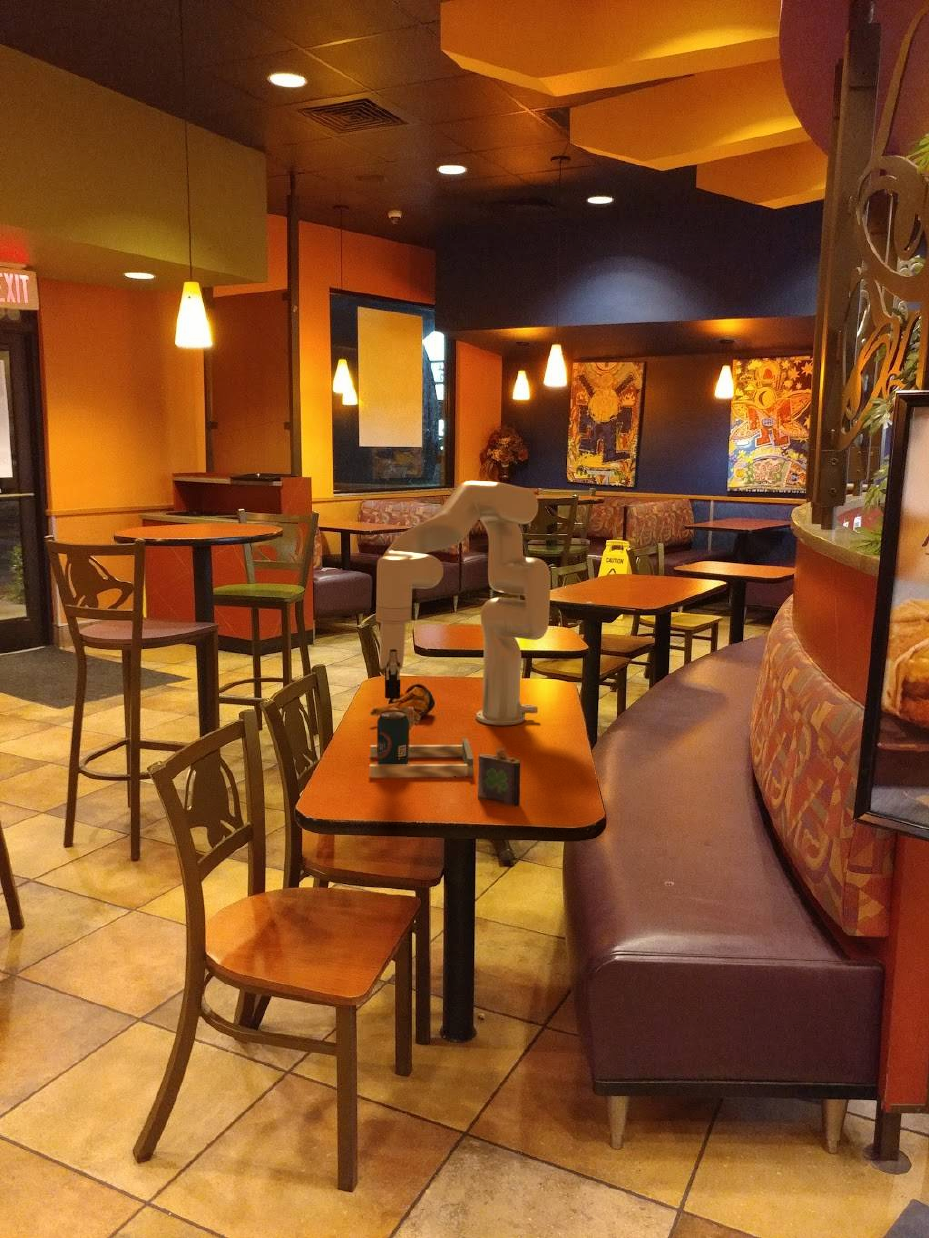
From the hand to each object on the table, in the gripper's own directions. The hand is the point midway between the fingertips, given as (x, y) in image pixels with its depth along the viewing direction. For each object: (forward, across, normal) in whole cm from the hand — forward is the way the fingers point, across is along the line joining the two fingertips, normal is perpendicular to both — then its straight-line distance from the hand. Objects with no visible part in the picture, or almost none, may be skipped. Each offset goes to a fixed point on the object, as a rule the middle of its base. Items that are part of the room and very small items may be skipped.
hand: (392, 692), depth 210 cm
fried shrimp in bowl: (+16, -38, +4) cm, 41 cm away
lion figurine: (+17, -21, +2) cm, 27 cm away
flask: (+17, +20, +21) cm, 34 cm away
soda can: (+17, -1, 0) cm, 17 cm away
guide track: (+17, -1, +6) cm, 18 cm away
